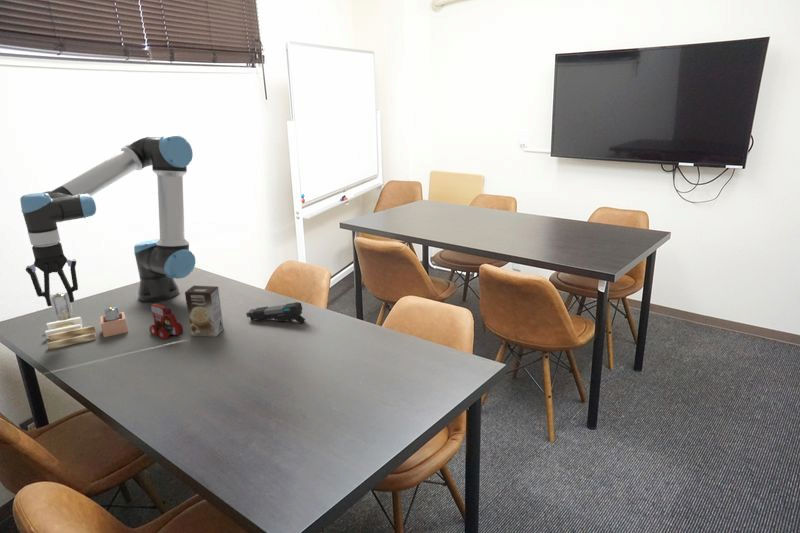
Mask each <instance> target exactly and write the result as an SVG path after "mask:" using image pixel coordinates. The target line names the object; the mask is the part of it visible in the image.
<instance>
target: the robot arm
mask: <svg viewBox="0 0 800 533" xmlns="http://www.w3.org/2000/svg"><path fill="white" fill-rule="evenodd" d="M193 155H194V154H193V149H192V146H191V144H190V143H189V141H188V140H187V139H186V138H184V137H183V136H181V135H178V134H174V133H149V134H145V135H143V136H140V137H139V138H137V139H135V140H134V141H132V142H130V143H128V144H126V145H124V146H123V147H122V148H121V149H120V152H119V153H116V154H115V155H113V156H111V157H109V158H107V159H106V160H104V161H103V162H101V163H99V164H97V165H96V166H94V167H91V169H89V170H86V171H85V172H83V173H82V174H79V175H78V176H76V177H75V178H73V179H71V180H69V181H67V182H65V183H63V184H62V185H61V186H58V187H57V188H54V189H52V190H51V191H50V190H49V191H43V192H37V193H28V194H24V195H22V196H21V197H20V200H19V201H20V207H21V213H22V215H23V218H24V222H25V226H26V228H27V234H28V238H29V241H30V245H32V247H31V250H32V253H33V256H34V262H33V264H31V265H27V266H26V267H25V271H26V273H28V275H29V276H30V279H31V282H32V284H33V287H34V290H35V294H36V296H37V297H44V299H45V301H46V306H48V307H51V310H52V312H53V317H57V312H56V308H55V305H54V301H53V295H54V294H51V290H50V288H51V287H50V285H51V284H50V274H53V273H57V275H58V276H59V278H60V280H61V282H62V284H63V287H64V288H65V290H66V291H65V292H64V293H65V296H66V300H67V304H68V308H69V312H70V313H71V314H73V306H72V303H74V302H75V298H74V292H76V291H78V290H79V284H78V279H77V278H78V277H77V270H76V265H77V260H76V259H69V258H67V257H66V256H65V254H64V250H63V245H62V243H61V242H60V241H61V237H60V234H59V229H58V225H57V223H62V222H68V221H72V220H77V219H78V220H79V219H86V218H89V217H93V216H94V215H95V214H96V212H97V205H96V201H95V199H94V198H93V196H94V195H96V194H97V193H99V192H100V191H102V190H103V189H105V188H106V187H107V188H108V187H109V186H110V185H112V184H114V183H115V182H117V181H118V180H120V179H121V178H123V177H125V176H127V175H128V174H130V173H132V172H134V171H141V170H142V169H144V168H146V167H150V166H151V167H152V171H153V173H155V174H156V176H157V196H158V197H157V198H158V202H157V203H158V221H159V222H158V223H159V238H157V239H151V240H149V239H148V240H145V241H141V242H138V243H136V244H135V245H134V247H133V249H134V250H133V251H134V253H133V254H134V255H135V256H134V257H135V261H136V266H137V270H138V271H137V272H138V275H139V285H138V292H137V296H138V300H140V301H141V302H149V303H150V302H159V301H164V300H165V301H166V300H169V299H171V298H173V297H174V298H175V297H176V296H177V295H178V294H180V289H179V286H178V284H177V283H176V281H175V279H177V280H178V279H184V278H186V277H188V276H189V275H190V274H191V273H192V272H194V269H195V267H196V263H197V262H196V261H197V260H196V256H195V254H194V253H193V252H192V251H191V250H190V242H188V241H187V239H186V238H185V214H184V211H185V208H184V184H183V183H184V182H183V181H184V180H183V178H184V176H185V174H186V173H187V172H188V171H187V170H188V169H187V167H188V166H189V165H190V163H191V162H192V160H193ZM66 263H67V266H68V267H70V274H71V277H70V278H71V283H72V286H71V284H70V282H69V281H68V278H67V276H66V274H65V272H64V266H65V265H66ZM36 268H37V269H39V270H40V271H41V272H43V280H44V281H43V282H44V284H43V288H44V289H43V290H44V291H43V290H42V287H41V284H40V281H39V279H38V278H39V277H38V275H37V273H36Z"/></svg>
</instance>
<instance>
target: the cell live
mask: <svg viewBox="0 0 800 533" xmlns="http://www.w3.org/2000/svg"><path fill="white" fill-rule="evenodd" d="M53 301H54V305H55V308H56V312H57V316H56V319H57V321H62V320H67V319H71V318H73V315H72V314H73V313H70V312H69V308H68V304H67V300H66V296H65V292H57V293H56V294H53Z"/></svg>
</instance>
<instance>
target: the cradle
mask: <svg viewBox="0 0 800 533" xmlns="http://www.w3.org/2000/svg"><path fill="white" fill-rule="evenodd" d="M69 323H73V325H72V326H67V327H62V328H57V329H56V326H59V325H64V324H69ZM46 328H47V330H45V331H44V334H45V337H46V340H49V335H51V334H56V333H60V332H65V331H70V330H75V329H80V328H83V320H82V317H81V316H76V317H72V318H70V319H67V320H62V321H60V320H56V321H52V322H51V321H50V322H46Z"/></svg>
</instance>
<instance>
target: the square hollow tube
mask: <svg viewBox="0 0 800 533" xmlns="http://www.w3.org/2000/svg"><path fill="white" fill-rule="evenodd" d="M118 313H119V318H120V319H118V320H113V321H109V322H106V318H105V315H101V316H100V317H99V318H100V326H101V330H102V335H103V338H107V337H112V336H116V335H121V334H122V335H123V334H125V333H126V334H127V333H128V332H129V330H128V325H127V320H126V316H125V312H124V311H122V312H118Z"/></svg>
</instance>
